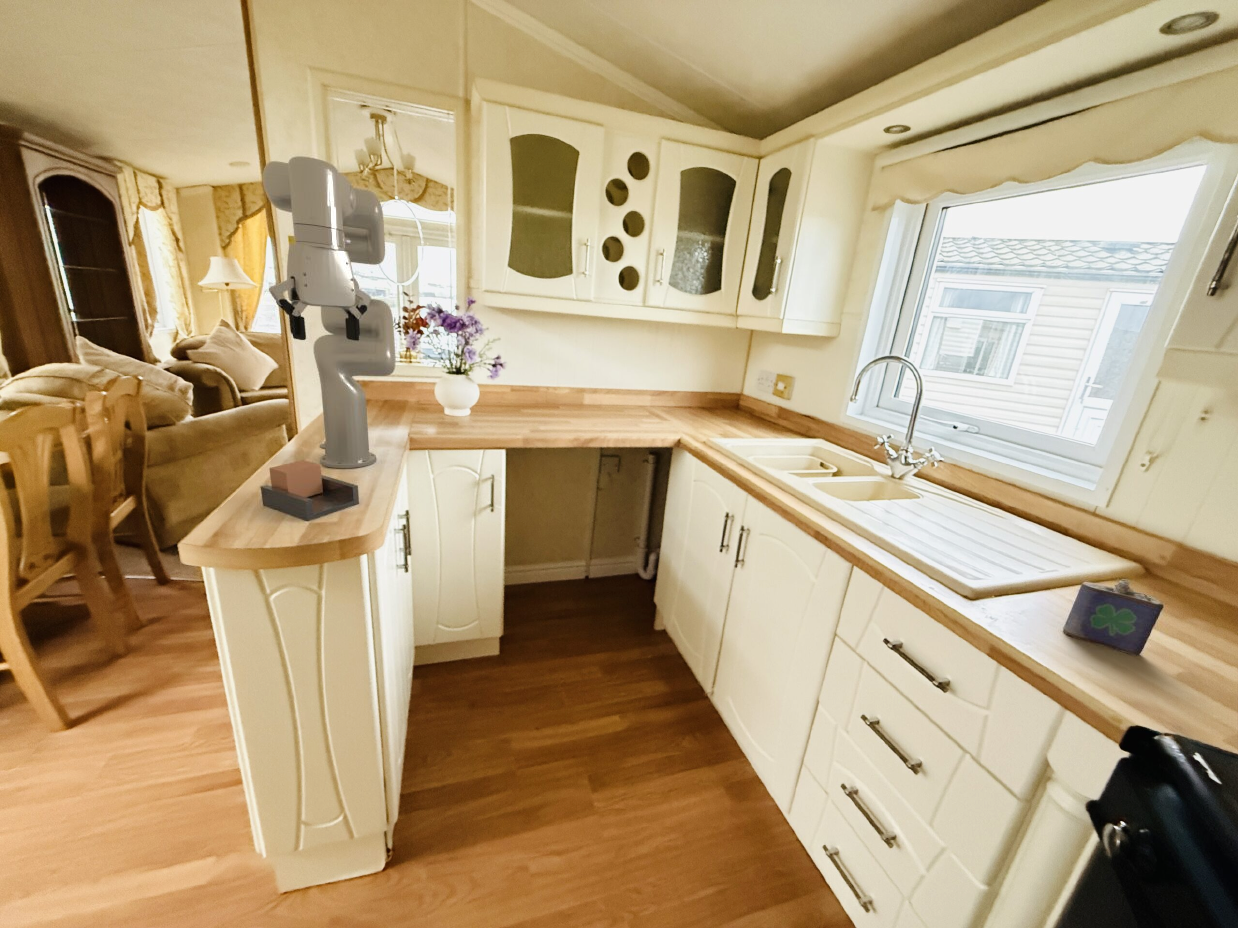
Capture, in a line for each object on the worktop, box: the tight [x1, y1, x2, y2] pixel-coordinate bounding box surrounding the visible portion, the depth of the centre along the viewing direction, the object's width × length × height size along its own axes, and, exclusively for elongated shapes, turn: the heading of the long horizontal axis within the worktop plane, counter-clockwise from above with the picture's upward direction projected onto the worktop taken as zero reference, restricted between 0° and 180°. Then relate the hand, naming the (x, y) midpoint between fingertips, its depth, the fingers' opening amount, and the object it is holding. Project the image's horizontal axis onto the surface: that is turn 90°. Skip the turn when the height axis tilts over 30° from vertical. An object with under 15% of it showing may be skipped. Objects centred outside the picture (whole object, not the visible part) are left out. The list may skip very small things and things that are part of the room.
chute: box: [260, 474, 360, 522], centre depth 99 cm, size 13×11×4 cm
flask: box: [1062, 578, 1164, 657], centre depth 75 cm, size 9×3×11 cm, turn 59°
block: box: [268, 459, 323, 497], centre depth 100 cm, size 5×7×6 cm
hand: (327, 339), depth 92 cm, fingers open, 9 cm apart
